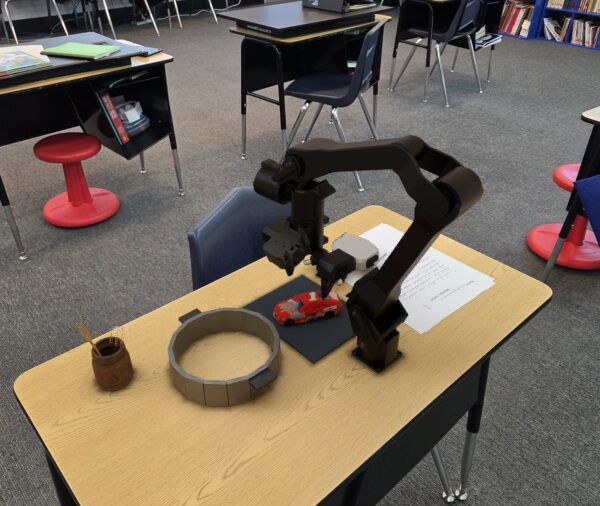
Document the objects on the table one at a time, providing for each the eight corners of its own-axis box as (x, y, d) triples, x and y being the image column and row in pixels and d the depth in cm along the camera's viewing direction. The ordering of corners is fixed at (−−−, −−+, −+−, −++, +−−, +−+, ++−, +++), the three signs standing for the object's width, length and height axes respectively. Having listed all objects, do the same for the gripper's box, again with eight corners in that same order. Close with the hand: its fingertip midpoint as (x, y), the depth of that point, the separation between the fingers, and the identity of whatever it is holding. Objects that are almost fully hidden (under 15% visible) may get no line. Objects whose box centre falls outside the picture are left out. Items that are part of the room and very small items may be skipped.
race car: (277, 329, 99) (276, 313, 97) (270, 311, 104) (269, 295, 102) (345, 317, 102) (345, 300, 100) (335, 299, 107) (336, 283, 105)
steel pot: (310, 373, 91) (310, 351, 88) (221, 435, 80) (218, 412, 78) (230, 310, 105) (228, 289, 102) (145, 355, 94) (141, 334, 92)
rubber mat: (374, 321, 102) (374, 320, 102) (313, 363, 93) (313, 362, 92) (302, 275, 114) (302, 274, 114) (242, 308, 105) (241, 307, 105)
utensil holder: (132, 389, 88) (119, 333, 81) (92, 394, 87) (75, 338, 81) (135, 363, 93) (123, 308, 86) (97, 367, 92) (82, 312, 86)
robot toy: (339, 298, 109) (389, 265, 117) (339, 280, 107) (389, 248, 114) (299, 271, 117) (348, 242, 125) (298, 254, 114) (348, 226, 122)
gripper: (236, 208, 93) (241, 281, 101) (311, 252, 81) (310, 331, 89) (284, 188, 99) (285, 259, 108) (360, 227, 88) (355, 302, 96)
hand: (306, 286), depth 100 cm, fingers open, 9 cm apart
